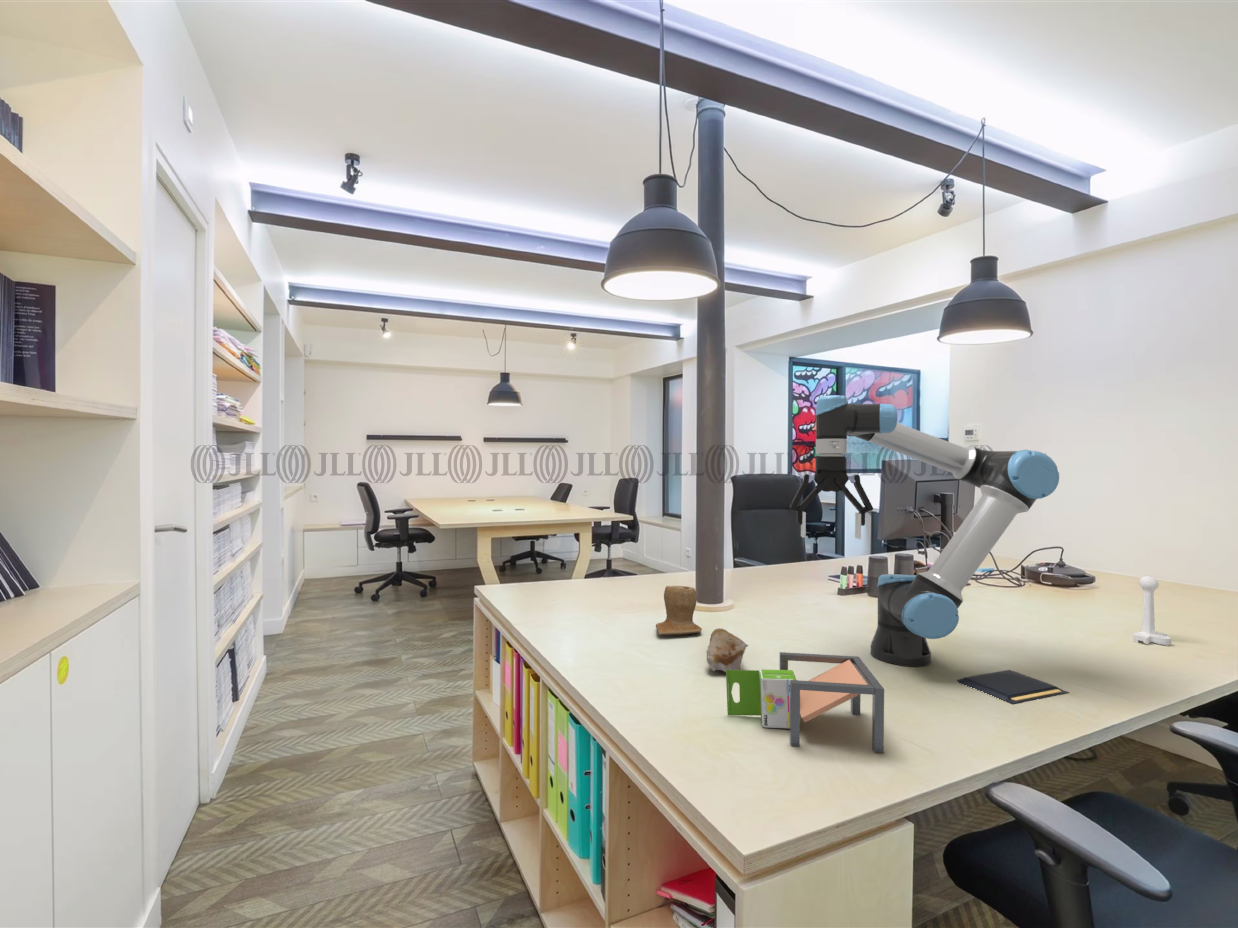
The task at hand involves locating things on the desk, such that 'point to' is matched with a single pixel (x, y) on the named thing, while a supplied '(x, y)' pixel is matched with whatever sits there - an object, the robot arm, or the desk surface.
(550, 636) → the desk surface
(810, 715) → the trapdoor
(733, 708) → the ink box
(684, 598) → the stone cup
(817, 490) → the robot arm
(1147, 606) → the joystick
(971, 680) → the wallet
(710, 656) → the mineral
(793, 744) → the stand
